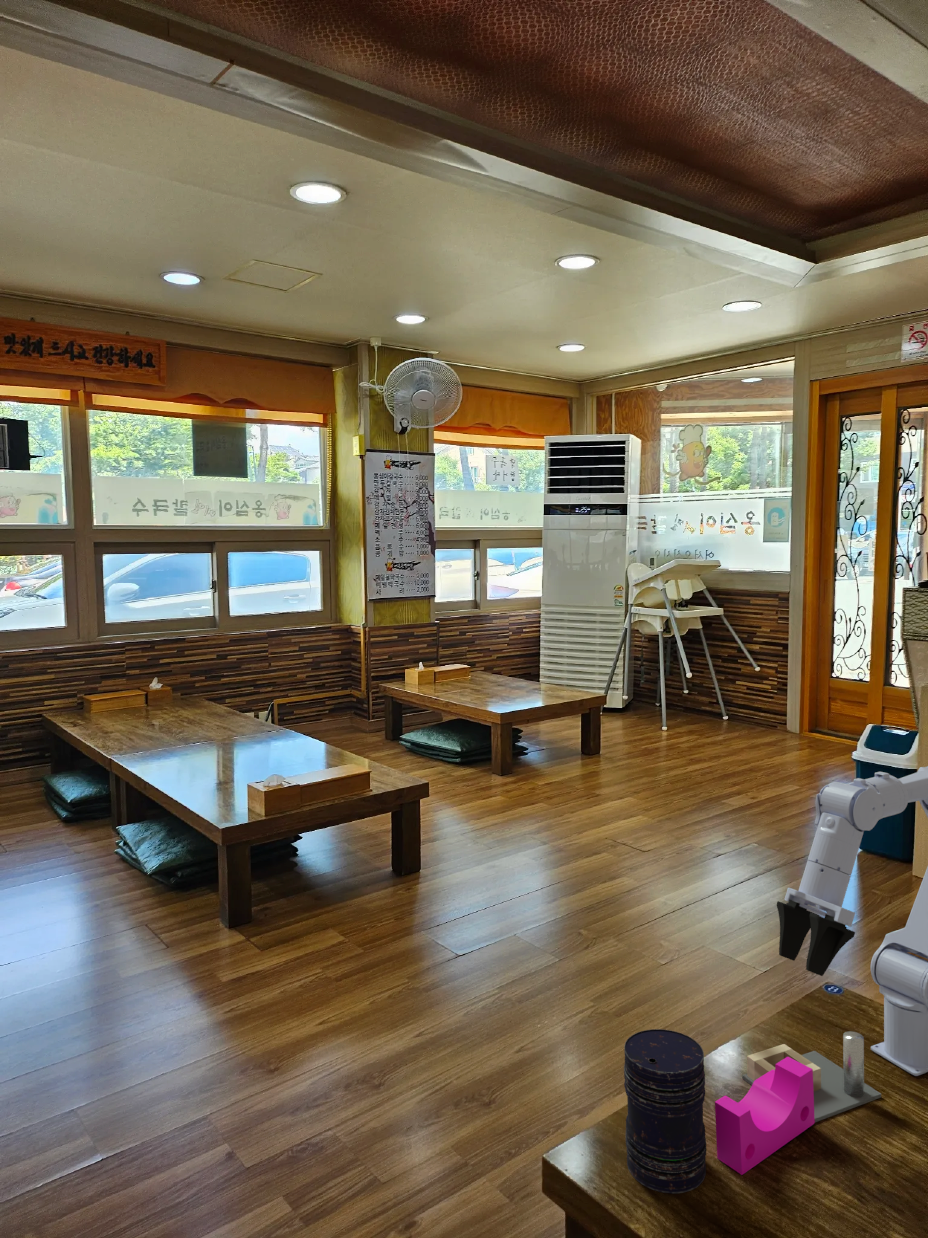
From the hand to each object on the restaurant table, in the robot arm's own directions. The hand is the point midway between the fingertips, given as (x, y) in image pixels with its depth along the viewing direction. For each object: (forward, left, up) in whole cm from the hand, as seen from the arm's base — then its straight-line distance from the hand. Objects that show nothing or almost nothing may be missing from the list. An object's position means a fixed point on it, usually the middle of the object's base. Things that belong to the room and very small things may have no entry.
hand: (799, 965), depth 116 cm
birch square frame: (-2, -5, -20) cm, 21 cm away
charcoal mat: (-5, -3, -20) cm, 21 cm away
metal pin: (-9, +1, -20) cm, 22 cm away
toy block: (+9, +2, -20) cm, 22 cm away
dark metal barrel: (+23, +1, -21) cm, 31 cm away
